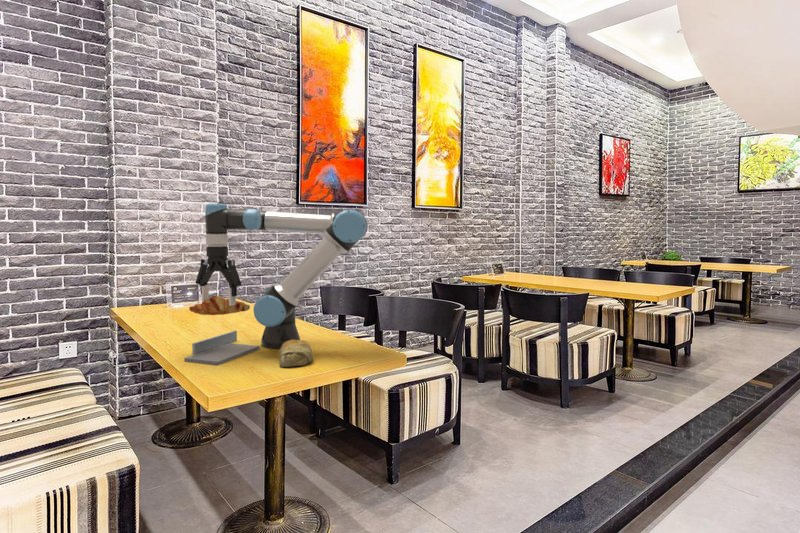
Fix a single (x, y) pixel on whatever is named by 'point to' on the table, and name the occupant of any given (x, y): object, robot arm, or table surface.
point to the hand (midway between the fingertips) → (218, 304)
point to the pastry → (295, 353)
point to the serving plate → (222, 354)
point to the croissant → (218, 307)
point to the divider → (214, 342)
